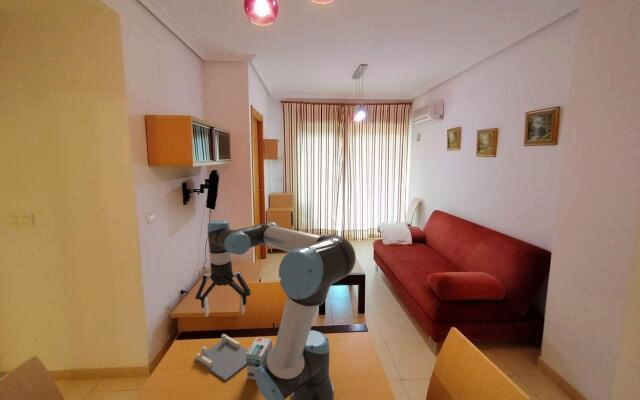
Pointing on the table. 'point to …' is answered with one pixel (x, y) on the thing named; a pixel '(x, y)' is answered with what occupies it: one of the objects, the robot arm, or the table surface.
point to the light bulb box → (257, 355)
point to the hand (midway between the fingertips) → (225, 313)
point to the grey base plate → (223, 358)
